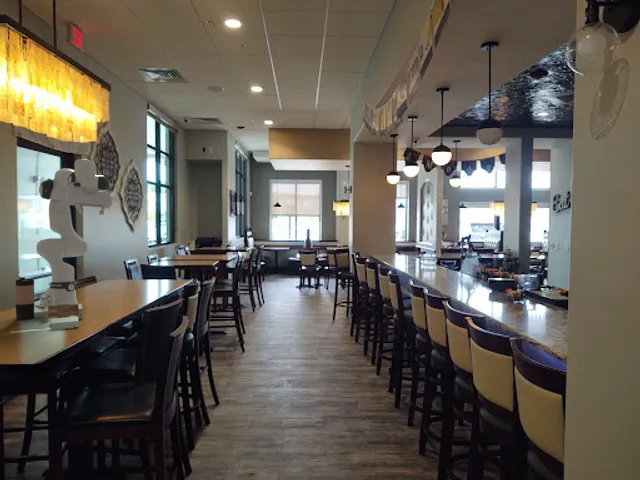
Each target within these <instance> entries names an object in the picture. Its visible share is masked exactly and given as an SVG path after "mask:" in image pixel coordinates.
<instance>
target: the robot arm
mask: <svg viewBox="0 0 640 480" xmlns="http://www.w3.org/2000/svg"><path fill="white" fill-rule="evenodd" d="M109 189H110V181H109V179H108V178H107V177H106V176H105V175H101V174H99V175H98V174H96V171H95V166H94V164H93V162H92V161H91V160H90V159H87V158H80V159H77V160H75V161H74V169H72V168H69V167H68V168H67V167H65V168H60V169H58V170H56V172H55V173H54V178H53V179H51V178H47V179H46V180H43V181H41V182H40V184H39V187H38V193H39V195H40V198H41V199H44V200H49V205H48V219H49V228H50V230H51V231H52V232H53V233H54V234H55V233H56V234H58V235H60V236H61V237H62V238H61V237H59V238H57V237H50V238H44V239H40V240H39V241H38V243H37V244H36V253H37V254H38V255H39V256H40V257H41V258H43V259H44V260H45V261H46V262H47V263H48V264H49V266H50V267H49V268H50V269H51V282H49V283H48V286H49V287H48V289H46V291H45V292H44V293H42V294H41V295H40V299H39V302H38V303H35V306H34V307H39V308H45V306H51V305H58V303H67V302H69V304H79V303H78V299H77V292H76V289H75V287H76V281H75V268H74V266H73V265H72V264H69V263H67V262H64V261H63V258H74V257H76V258H77V257H81V256H85V255H86V253H87V252H88V250H89V245H88V242H87V241H86V240H85V239H84V238H83V237H81V236H80V235H78V233H77V232H76V230H75V229H74V226H73V221H72V214H71V208H70V207H71V206H74V207H75V208H76V210H77V211H78V214H83V213H84V208H81V207H93V208H100V211H99V212H98V213H99V215H101V216H103V215H104V214H105V212H104V211H105V209H106V208H107V209H110V208H111V207H112V205H113V200H112V197H111V196H112V195H111V193H110V191H109Z"/></svg>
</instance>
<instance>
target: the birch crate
mask: <svg viewBox="0 0 640 480" xmlns="http://www.w3.org/2000/svg"><path fill="white" fill-rule="evenodd" d="M43 308H44V307H43ZM69 317H78V320H82V319H83V305H82V303H80V302H79V303H77V304H69ZM54 318H58V305H51V306H45V308H44V309H43V322H44V323H48V322H49V323H51V319H54Z"/></svg>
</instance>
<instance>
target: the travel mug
mask: <svg viewBox="0 0 640 480" xmlns="http://www.w3.org/2000/svg"><path fill="white" fill-rule="evenodd" d="M35 301H36V300H35V279H33V278H23V279H22V278H21V279H16V280H15V318H16V321H30V320H34V319H35V307H36V306H35V304H36V303H35Z"/></svg>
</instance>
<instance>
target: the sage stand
mask: <svg viewBox="0 0 640 480" xmlns="http://www.w3.org/2000/svg"><path fill="white" fill-rule="evenodd" d="M79 320H80V319H78V317H66V318H54V319H51V322H50V331H53V330H54V331H55V330H56V329H57V330H65V329H66V328H67V329H75V328H74V327H78V328H80V321H79ZM67 329H66V330H67ZM57 330H56V331H57Z"/></svg>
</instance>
